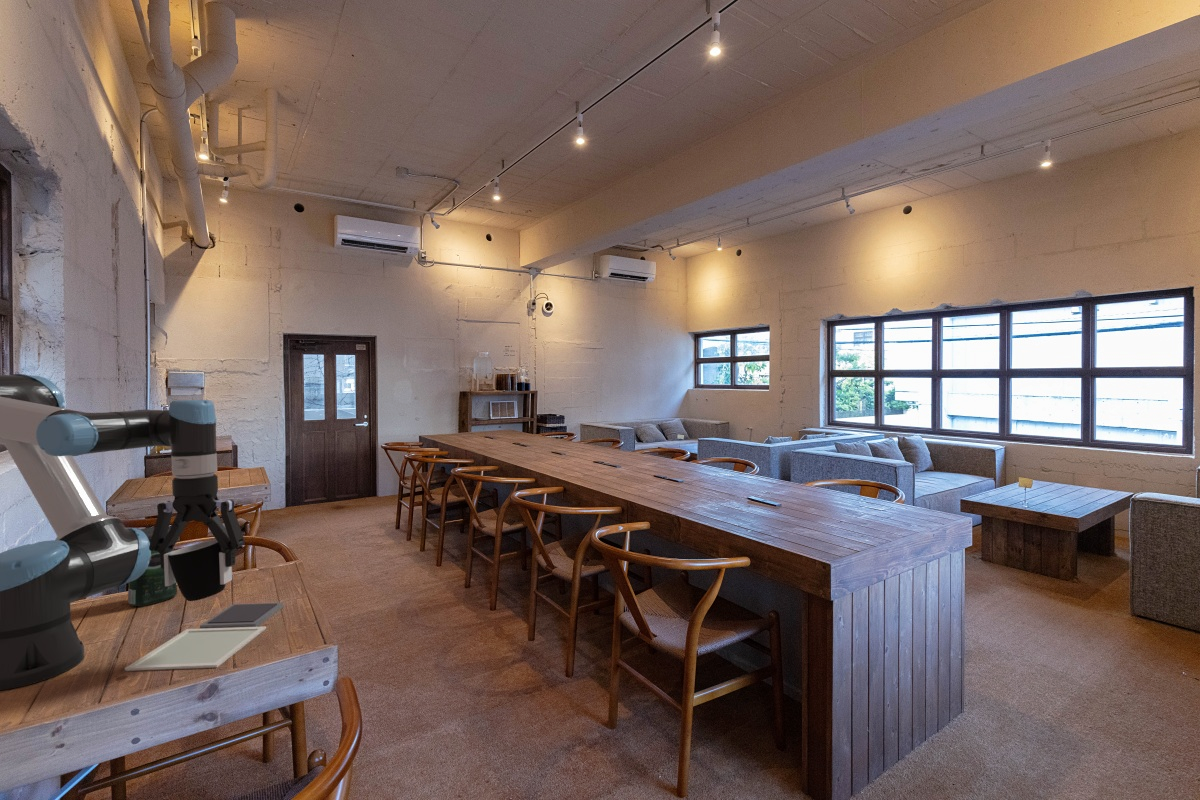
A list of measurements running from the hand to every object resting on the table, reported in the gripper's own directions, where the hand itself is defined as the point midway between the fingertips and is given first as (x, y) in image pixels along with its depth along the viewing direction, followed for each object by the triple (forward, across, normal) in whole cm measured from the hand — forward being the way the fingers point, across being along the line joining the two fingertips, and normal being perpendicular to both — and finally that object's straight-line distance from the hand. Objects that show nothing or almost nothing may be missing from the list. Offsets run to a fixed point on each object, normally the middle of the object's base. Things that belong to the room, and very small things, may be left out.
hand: (199, 583), depth 114 cm
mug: (+3, 0, 0) cm, 3 cm away
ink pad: (+14, 0, +15) cm, 20 cm away
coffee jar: (+14, -30, +28) cm, 43 cm away
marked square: (+14, 0, 0) cm, 14 cm away
